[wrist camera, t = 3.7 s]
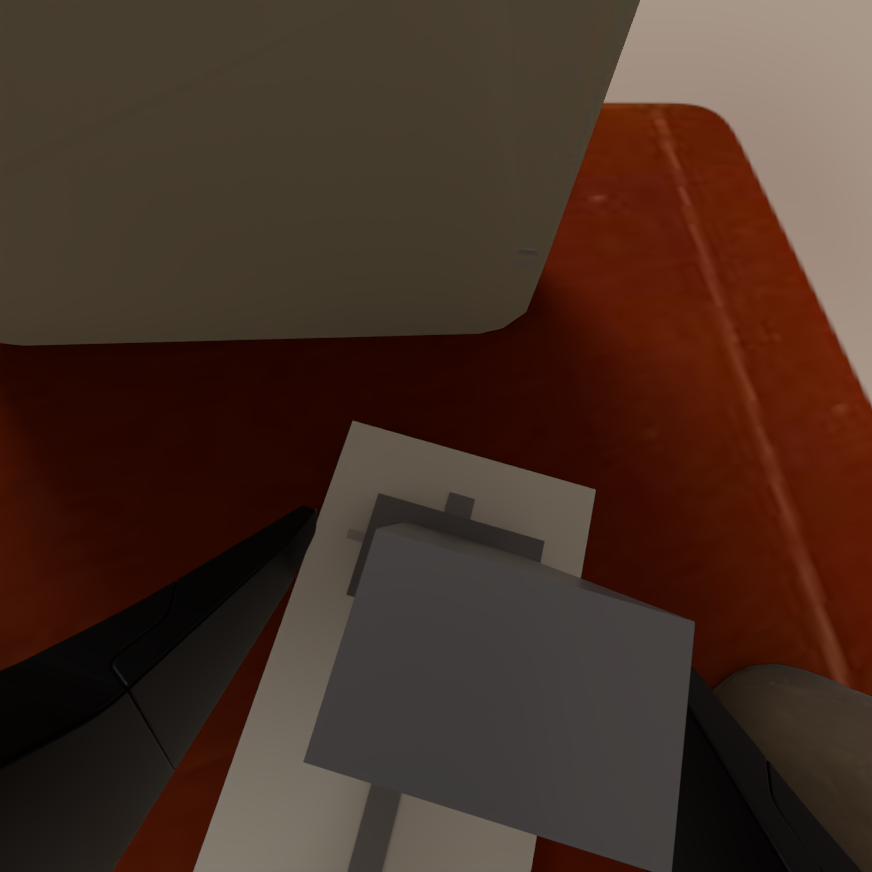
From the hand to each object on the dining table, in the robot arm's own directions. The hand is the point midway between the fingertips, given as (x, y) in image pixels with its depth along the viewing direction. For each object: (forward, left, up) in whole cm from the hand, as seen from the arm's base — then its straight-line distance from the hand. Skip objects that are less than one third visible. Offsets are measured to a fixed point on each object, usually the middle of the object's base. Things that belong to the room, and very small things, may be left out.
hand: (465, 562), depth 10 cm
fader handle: (-1, 0, -6) cm, 6 cm away
